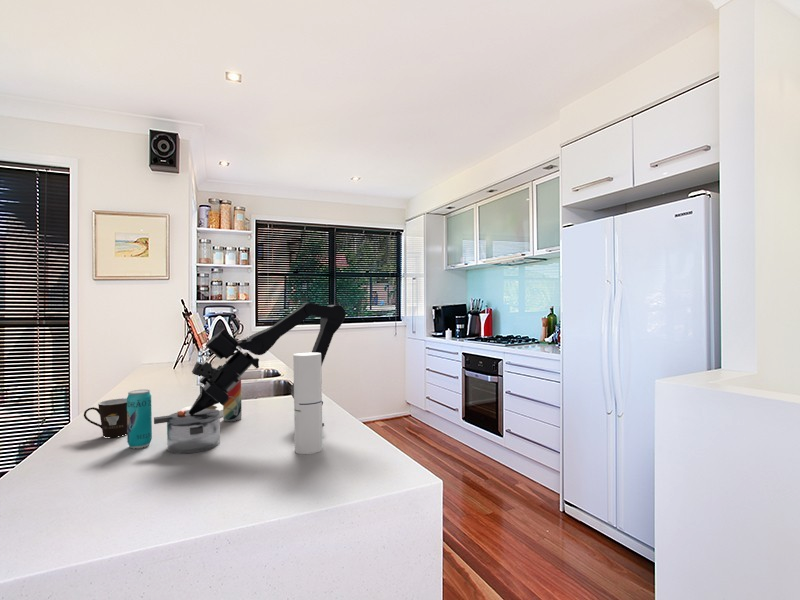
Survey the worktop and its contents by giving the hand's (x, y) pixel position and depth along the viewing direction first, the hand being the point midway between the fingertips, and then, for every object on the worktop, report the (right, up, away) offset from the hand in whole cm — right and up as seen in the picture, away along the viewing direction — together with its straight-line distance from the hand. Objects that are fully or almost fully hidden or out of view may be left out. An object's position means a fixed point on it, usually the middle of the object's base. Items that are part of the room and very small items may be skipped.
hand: (189, 413), depth 118 cm
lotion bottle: (+1, -9, +27) cm, 29 cm away
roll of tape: (-11, -10, +34) cm, 37 cm away
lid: (0, -1, 0) cm, 2 cm away
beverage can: (-14, -9, +1) cm, 17 cm away
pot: (+1, -9, 0) cm, 9 cm away
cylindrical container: (+33, -8, -4) cm, 35 cm away
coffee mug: (-29, -10, +12) cm, 33 cm away
